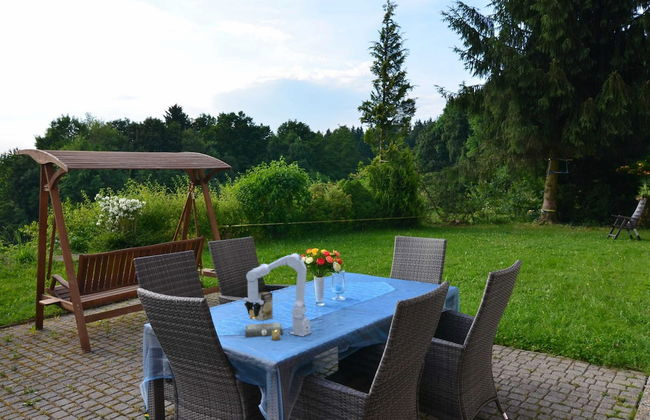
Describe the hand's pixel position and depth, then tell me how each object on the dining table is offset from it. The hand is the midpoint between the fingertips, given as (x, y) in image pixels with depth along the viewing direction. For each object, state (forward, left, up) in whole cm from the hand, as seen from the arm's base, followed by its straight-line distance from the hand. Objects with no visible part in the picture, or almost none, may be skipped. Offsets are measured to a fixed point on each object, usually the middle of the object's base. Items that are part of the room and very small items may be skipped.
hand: (253, 315), depth 266 cm
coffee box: (+15, -24, -10) cm, 30 cm away
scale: (-5, -3, -9) cm, 11 cm away
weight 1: (0, 0, -1) cm, 1 cm away
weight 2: (-19, +3, -10) cm, 22 cm away
